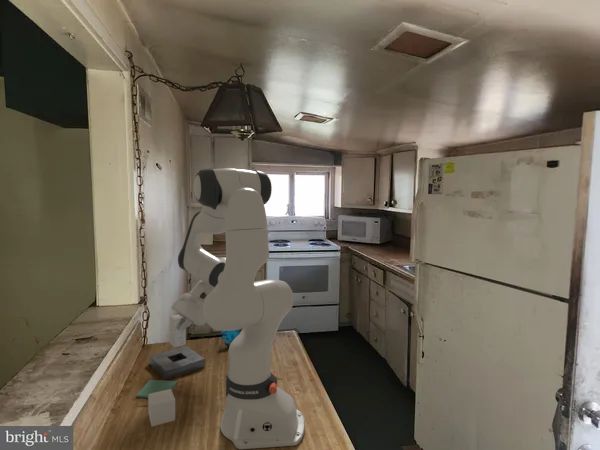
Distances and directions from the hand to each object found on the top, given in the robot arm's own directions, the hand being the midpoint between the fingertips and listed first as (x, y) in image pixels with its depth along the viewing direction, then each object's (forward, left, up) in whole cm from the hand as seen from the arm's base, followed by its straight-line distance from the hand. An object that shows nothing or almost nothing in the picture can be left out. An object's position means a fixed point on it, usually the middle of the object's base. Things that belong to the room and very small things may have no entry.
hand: (176, 328), depth 125 cm
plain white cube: (-7, +28, -14) cm, 33 cm away
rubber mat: (0, +15, -14) cm, 21 cm away
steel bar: (-1, 0, -6) cm, 6 cm away
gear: (-16, -21, -14) cm, 30 cm away
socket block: (0, -1, -14) cm, 14 cm away
